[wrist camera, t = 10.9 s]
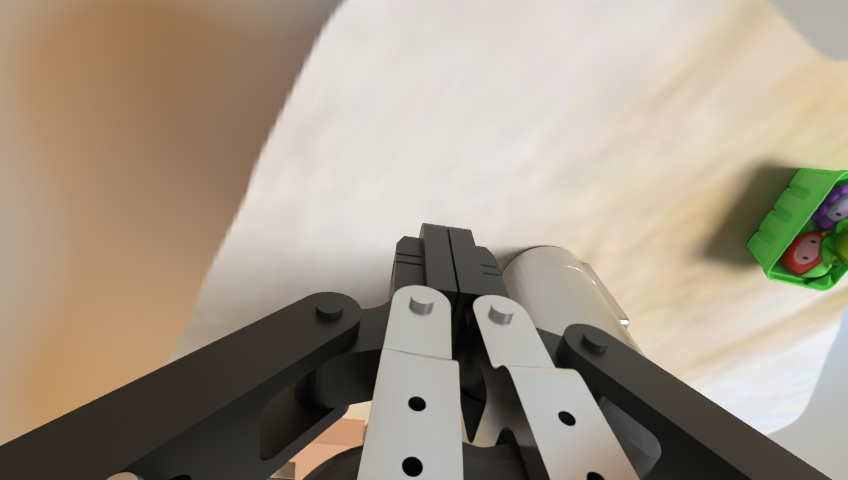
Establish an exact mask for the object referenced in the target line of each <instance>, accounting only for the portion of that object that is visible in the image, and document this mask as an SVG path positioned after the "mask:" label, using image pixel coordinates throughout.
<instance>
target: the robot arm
mask: <svg viewBox="0 0 848 480" xmlns="http://www.w3.org/2000/svg"><path fill="white" fill-rule="evenodd" d="M628 325H629V319H628V317H627V316H626V314H625V313H624V311H623V310H622V309H621V307H620V306H619V305H618V303H617V302H616V301H615V299H614V298H613V296H612V295H611V294H610V292H609V291H608V290H607V288H606V287H605V285H604V284H603V283H602V281H601V280H600V279H599V277H598V276H597V275H596V273H595V272H594V270H593V269H592V268H591V266H590V265H589V264H584V263H581V262H580V261H579V260H578V259H577V258H576V257H575V256H574V255H573V254H571V253H570V252H568V251H567V250H564V249H562V248H559V247H552V246H544V247H537V248H533V249H530V250H528V251H525V252H523V253H521V254H520V255H518V256H517V257H515V258H514V259H513V260H512V261H511V262H510V263H509V264H508V265H507V267H506V268H505V270H504V271H503V274H502V276H501V273H500V270H499V268H498V264H497V261H496V259H495V256H494V255H493V254H492V253H491V252H490V251H489V250H488V249H486V248H485V247H480V246H475V242H474V239H473V235H472V232H471V230H468V229H462V228H455V227H448V226H447V228H446V226H440V225H433V224H426V223H422V226H421V231H420V236H419V238H415V237H407V236H404V237H403V238H402V239H401V240H400V241H399V242H398V243H397V245H396V252H395V258H394V264H393V270H392V276H391V282H390V293H389V301H388V302H387V303H385V304H384V305H382V306H379V307H376V308H371V309H362V310H361V308H360V306H359V304H358V303H357V302H356V301H355V300H354V299H352V298H351V297H349V296H346V295H344V294H340V293H335V292H321V293H316V294H312V295H310V296H307V297H305V298H303V299H301V300H299V301H297V302H295V303H293V304H291V305H289V306H287V307H285V308H283V309H281V310H279V311H277V312H275V313H272V314H270V315H268V316H266V317H264V318H262V319H260V320H258V321H256V322H254V323H252V324H250V325H248V326H246V327H244V328H242V329H240V330H238V331H236V332H233V333H231V334H229V335H227V336H225V337H223V338H221V339H219V340H217V341H215V342H213V343H211V344H209V345H207V346H205V347H203V348H201V349H199V350H196V351H194V352H192V353H190V354H188V355H186V356H184V357H182V358H180V359H178V360H176V361H174V362H172V363H170V364H168V365H166V366H164V367H162V368H159V369H158V370H156V371H153V372H152V373H149V374H147V375H145V376H143V377H141V378H139V379H137V380H135V381H133V382H131V383H129V384H127V385H125V386H122V387H120V388H118V389H116V390H114V391H112V392H110V393H108V394H106V395H104V396H102V397H100V398H98V399H96V400H94V401H92V402H90V403H88V404H86V405H83V406H81V407H79V408H77V409H75V410H73V411H71V412H69V413H67V414H65V415H63V416H61V417H59V418H57V419H55V420H53V421H51V422H49V423H47V424H44V425H42V426H40V427H39V428H36V429H34V430H32V431H30V432H28V433H26V434H24V435H22V436H20V437H18V438H16V439H14V440H12V441H10V442H7V443H5V444H3V445H1V446H0V480H266V479H267V478H269V477H270V476H271V475H272V474H274V473H275V472H276V471H277V470H278V469H280V468H281V467H282V466H283V465H284V464H286V463H287V462H288V461H289V460H290V459H292V458H293V457H294V456H295V455H296V454H298V453H299V452H300V451H301V450H303V449H304V448H305V447H306V446H307V445H309V444H310V443H311V442H312V441H313V440H315V439H316V438H317V437H318V436H319V435H321V434H322V433H323V432H324V431H325V430H327V429H328V428H329V427H330V426H332V425H333V424H334V423H335V422H336V421H338V420H339V419H340V418H341V417H342V416H343V415H344V414H345V413H346V412H347V410H348V408H349V405H351V404H356V403H361V402H367V401H372V405H371V410H370V416H369V421H368V426H367V431H366V436H365V441H364V445H360V446H357V447H353V448H350V449H348V450H345V451H343V452H341V453H338V454H336V455H335V456H333V457H331V458H329V459H328V460H326V461H324V462H323V463H321V464H320V465H319V466H317V467H316V468H315V469H313V470H312V471H311V472H310V473H309V474H308V475H306V476H305V477H304V478H303V479H302V480H832V479H830V478H829V477H827V476H826V475H824V474H822V473H821V472H819V471H818V470H816V469H815V468H813V467H812V466H810V465H809V464H807V463H806V462H804V461H803V460H801V459H799V458H798V457H797V456H795V455H793V454H792V453H790V452H789V451H787V450H786V449H784V448H783V447H781V446H780V445H778V444H777V443H775V442H773V441H772V440H771V439H769V438H767V437H766V436H764V435H763V434H761V433H760V432H758V431H757V430H755V429H754V428H752V427H751V426H749V425H748V424H746V423H745V422H743V421H742V420H740V419H738V418H737V417H735V416H734V415H732V414H731V413H729V412H728V411H726V410H725V409H723V408H722V407H720V406H719V405H717V404H716V403H714V402H713V401H711V400H709V399H708V398H706V397H705V396H703V395H702V394H700V393H699V392H697V391H696V390H694V389H693V388H691V387H690V386H688V385H687V384H685V383H684V382H682V381H680V380H679V379H677V378H676V377H674V376H673V375H671V374H670V373H668V372H667V371H665V370H664V369H662V368H661V367H659V366H658V365H656V364H655V363H653V362H651V361H650V360H648V359H647V358H646V357H645V355H644V354H643V353H642V351H641V350H640V348H639V347H638V346H637V344H636V343H635V341H634V340H633V338H632V337H631V336H630V334H629V333H628V331H627V330H626V329H627V327H628Z"/></svg>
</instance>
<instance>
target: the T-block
mask: <svg viewBox="0 0 848 480" xmlns="http://www.w3.org/2000/svg"><path fill="white" fill-rule="evenodd" d="M364 422H365V420H355V419H344V418H340V419H339V420H338V421H336V422H335V423H334V424H333V425H332V426H330V427H329V428H328V429H327V430H325V431H324V432H323V433H322V434H321V435H319V436H318V437H317V438H316V439H315V440H313V441H312V442H311V443H310V444H309V445H307V446H306V447H305V448H304V449H303V450H301V451H300V452H299V453H298V454H296V455H295V456H294V457H293V458H292V459H290V460H289V461H288V462H296V465H295V480H302V479H303V478H304V477H305V476H306V475H308V474H309V473H310V472H311V471H312V470H313V469H315V468H316V467H317V466H319V465H320V464H321V463H323V462H324V461H326V460H328V459H329V458H331V457H333V456H335V455H336V454H338V453H341V452H343V451H345V450H348V449H350V448H353V447H357V446H360V445H362V440H363V431H364Z"/></svg>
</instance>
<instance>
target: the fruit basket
mask: <svg viewBox="0 0 848 480" xmlns="http://www.w3.org/2000/svg"><path fill="white" fill-rule="evenodd" d="M773 208H774V209H773V210H771V211H770V212H769V213H768V214H767V216H766V217H765V219H764V220H763V222H762V223H761V225H760V227H759V231H757V232H756V233H755V234H754V235H753V236H752V238H751V239H750V241H749V242H748V243H747V246H748V248H749V249H750V251H751V252H752V254H753V255H754V256H755V258H756V259H757V260H758V262H759V263H760V265H761V266H762V267H763V271H764V273H765V274H766V276H767V277H768V278H769V279H770V280H774V281H779V282H784V283H788V284H793V285H797V286H802V287H806V288H810V289H814V290H818V291H826V290H829V289H831V288H832V287H834V286H835V284H836V283H837V282H838V281H839V280H840V278H841V277H842V276H843V275H844V274H845V273H846V272H847V271H848V170H840V171H829V170H817V169H805V168H801V169H799V170H798V171H797V173H796V174H795V175H794V177H793V178H792V180H791V181H790V184H789V188H787V189H786V190H785V191H783V193H782V194H781V196H780V197H779V199H778V200H777V201H776V203H775V205H774V207H773Z"/></svg>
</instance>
